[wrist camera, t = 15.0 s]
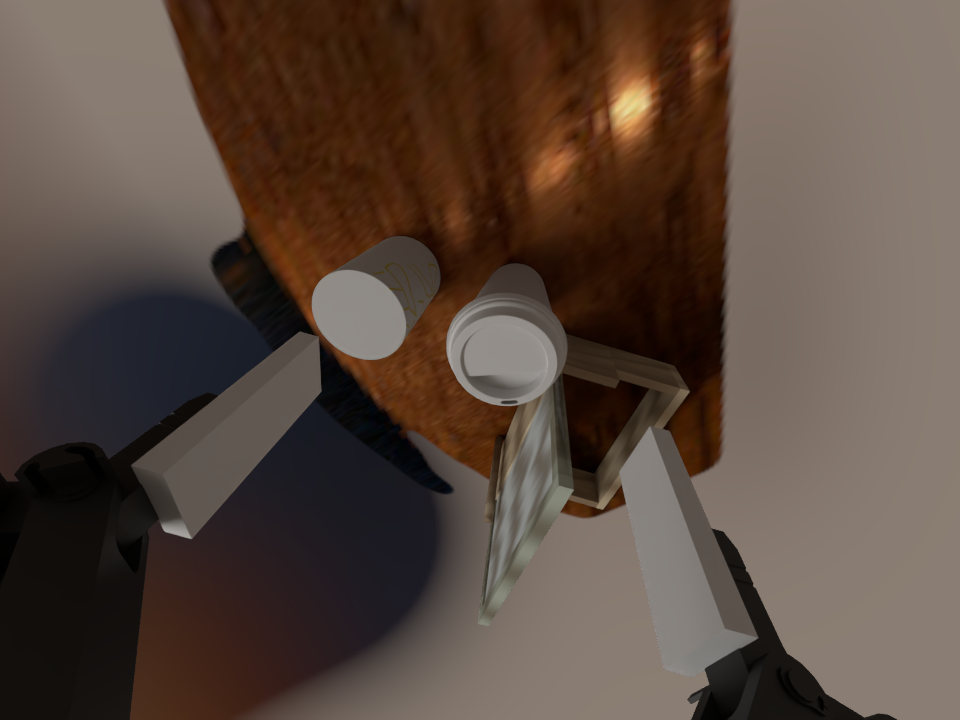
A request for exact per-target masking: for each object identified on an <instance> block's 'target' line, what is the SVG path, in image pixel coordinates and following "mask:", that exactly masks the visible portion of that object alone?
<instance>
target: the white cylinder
mask: <svg viewBox="0 0 960 720" xmlns="http://www.w3.org/2000/svg"><path fill="white" fill-rule="evenodd" d="M439 285H440V269H439V265H438V263H437V260H436V258H435V257H434V255H433V254H432V252H431V251H430V250H429V249H428V248H427V247H426V246H425V245H424V244H422V243H421V242H419V241H417V240H415V239H413V238H410V237H406V236H394V237H390V238H387V239H385V240H384V241H382V242H380V243H379V244H377V245H375V246H374V247H372V248H371V249H369V250H367V251H366V252H364V253H362V254H361V255H359V256H358V257H356V258H354V259H353V260H351V261H350V262H348V263H346V264H345V265H343V266H341V267H340V268H338V269H337V270H335V271H333V272H332V273H330V274H328V275H327V276H325V277H324V278H323V279H322V280H321V281H320V282H319V283H318V285H317V286H316V288H315V290H314V293H313V297H312V311H313V315H314V319H315V321H316V323H317V326H318V327H319V329H320V331H321V332H322V334H323V335H324V336H325V337H326V339H327V340H328V341H329V342H330V343H331V344H333V345H334V346H335V347H336V348H338V349H339V350H341V351H342V352H344V353H346V354H348V355H350V356H353V357H356V358H360V359H366V360H375V359H381V358H384V357H387V356H389V355H391V354H392V353H394V352H395V351H396V350H397V349H398V348H399V347H400V345H401V344H402V342H403V341H404V339H405V338H406V337H407V335H408V334H409V332H410V331H411V329H412V328H413V326H414V325H415V324H416V322H417V321H418V319H419V318H420V316H421V315H422V313H423V312H424V311H425V309H426V308H427V306H428V305H429V303H430V302H431V300H432V299H433V298H434V296H435V295H436V293H437V291H438V289H439Z"/></svg>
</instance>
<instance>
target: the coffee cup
mask: <svg viewBox="0 0 960 720" xmlns="http://www.w3.org/2000/svg"><path fill="white" fill-rule="evenodd" d="M567 351H568V345H567V338H566V334H565V331H564V329H563V327H562V325H561V323H560V321H559V320H558V318H557V317H556V316H555V315H554V314H553V312H552V310H551V306H550V303H549V299H548V296H547V293H546V289H545V286H544V283H543V280H542V278H541V277H540V275H539V274H538V273H537V272H536V271H535V270H534V269H532V268H531V267H529V266H527V265H524V264H518V263H513V264H507V265H504V266H502V267H500V268H499V269H497V270H496V271H495V272H494V273H493V274H492V275H491V276H490V278H489V279H488V281H487V282H486V284H485V285H484V287H483V288H482V289H481V291H480V292H479V294H478V295H477V297H476V298H475V300H474V301H472V302H470V303H469V304H467V305H466V306H465V307H463V308H462V309H461V310H460V311H459V312H458V314H457V315H456V316H455V318H454V319H453V321H452V323H451V325H450V327H449V330H448V334H447V355H448V360H449V363H450V365H451V368H452V370H453V372H454V374H455V376H456V378H457V379H458V381H459V382H460V384H461V385H462V386H463V387H464V388H465V389H466V390H467V391H468V392H469V393H470V394H472V395H473V396H475V397H476V398H478V399H480V400H482V401H484V402H487V403H490V404H495V405H501V406H513V405H520V404H524V403H527V402H530V401H532V400H534V399H536V398H537V397H539V396H540V395H542V394H543V393H544V392H545V391H546V390H547V389H548V388H549V387H550V386H551V385H552V384H553V383H554V382H555V381H556V380H557V378H558V377H559V375H560V373H561V372H562V369H563V367H564V365H565V362H566V358H567Z"/></svg>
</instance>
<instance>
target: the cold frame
mask: <svg viewBox="0 0 960 720" xmlns="http://www.w3.org/2000/svg"><path fill="white" fill-rule="evenodd" d="M566 338H567V345H568V351H567V358H566V362H565V365H564V367H563V369H562V372H561V373H560V375H559V377H558V378H557V380H556V381H555V382H554V383H553V384H552V385H551V386H550V387H549V388H548V389H547V390H546V391H545V392H544V393H543V394H542V395H540V396H539V397H537V398H536V399H534V400H532V401H530V402H527V403H524V404H520V405H519V406H518V408H517V411H516V413H515V416H514V418H513V421H512V423H511V426H510V428H509V430H508V433H507V435H506V438H505V440H504V443H503V445H502V441H503V437H502V436H497V437H496V440H495V447H494V454H493V460H492V467H491V474H490V481H489V487H488V494H487V501H486V508H485V514H484V521H485V522H487V523H491V525H490V533H489V541H488V548H487V556H486V564H485V572H484V579H483V587H482V595H481V603H480V611H479V619H478V623H479V624H482V625H485V626H489V624H490V622H491V621H492V619H493V618H494V616H495V614H496V613H497V611H498V610H499V608H500V607H501V605H502V603H503V602H504V600H505V599H506V597H507V595H508V594H509V592H510V591H511V589H512V587H513V586H514V584H515V583H516V581H517V579H518V578H519V576H520V575H521V573H522V572H523V570H524V568H525V567H526V565H527V564H528V562H529V560H530V559H531V557H532V555H533V554H534V552H535V551H536V549H537V548H538V546H539V544H540V543H541V541H542V540H543V538H544V536H545V535H546V533H547V532H548V530H549V529H550V527H551V525H552V524H553V522H554V520H555V519H556V518H557V516H558V514H559V513H560V511H561V510H562V508H563V506H564V505H565V503H566V502H567V500H571V501H575V502H578V503H582V504H585V505H589V506H592V507H596V508H599V509H602V510H603V509H604V507H605V506H606V505H607V503H608V502H609V501H610V499H611V498H612V496H613V495H614V494H615V492H616V491H617V490H618V488H619V487H620V486H621V484H622V482H621V478H620V473H619V471H620V470H621V469H622V467H623V466H624V464H625V463H626V461H627V460H628V458H629V457H630V455H631V454H632V452H633V451H634V449H635V448H636V446H637V445H638V443H639V442H640V440H641V439H642V437H643V436H644V434H645V433H646V431H647V430H648V428H649V427H650V426H653V427H656V428H660V429H663V427H664V426H665V425H666V423H667V422H668V420H669V419H670V418H671V416H672V415H673V414H674V412H675V411H676V410H677V408H678V407H679V406H680V404H681V403H682V401H683V400H684V399H685V397H686V396H687V395H688V393H689V392H690V391H689V389H688V387H687V386H686V384H685V382H684V381H683V379H682V378H681V376H680V374H679V373H678V371H677V369H676V368H675V366H674V365H670V364H667V363H663V362H660V361H657V360H653V359H650V358H646V357H643V356H640V355H636V354H633V353H629V352H626V351H623V350H619V349H616V348H612V347H609V346H606V345H602V344H599V343H595V342H592V341H589V340H585V339H582V338H578V337H575V336H572V335H568V334H566ZM562 373H564V374H568V375H571V376H574V377H578V378H581V379H585V380H588V381H592V382H595V383H598V384H602V385H605V386H609V387H612V388H616V386H617V384H618V383H619V381H620V380H623V381H626V382H630V383H633V384H636V385H640V386H643V387H647V388H650V389H649V390H648V392H647V393H646V395H645V396H644V398H643V399H642V401H641V402H640V404H639V406H638V407H637V409H636V410H635V412H634V413H633V415H632V416H631V418H630V419H629V421H628V422H627V424H626V425H625V427H624V428H623V430H622V432H621V433H620V435H619V436H618V438H617V439H616V441H615V442H614V444H613V445H612V447H611V448H610V450H609V451H608V453H607V455H606V456H605V458H604V459H603V461H602V462H601V464H600V465H599V467H598V468H597V470H596V471H595V473H594V474H593V473H590V472H586V471H583V470H580V469H576V468H573V467H572V466H571V456H570V446H569V436H568V425H567V415H566V405H565V395H564V385H563V375H562Z"/></svg>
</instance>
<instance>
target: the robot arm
mask: <svg viewBox="0 0 960 720" xmlns="http://www.w3.org/2000/svg"><path fill="white" fill-rule="evenodd" d="M320 392H321V376H320V355H319V337H317V336H313V335H310V334H306V333H302V332H299V333H297V334H296V335H295V336H294V337H292V338H291V339H290V340H289V341H287V342H286V343H285V344H284V345H282V346H281V347H280V348H278V349H277V350H276V351H275V352H273V353H272V354H271V355H270V356H268V357H267V358H266V359H265V360H263V361H262V362H261V363H260V364H258V365H257V366H256V367H255V368H253V369H252V370H251V371H250V372H248V373H247V374H246V375H244V376H243V377H242V378H241V379H239V380H238V381H237V382H236V383H234V384H233V385H232V386H231V387H229V388H228V389H227V390H225V392H223V393H222V394H221V395H219V396H218V395H214V394H211V393H206V394H204V395H201V396H199V397H197V398H194V399H192V400H189V401H188V402H186V403H185V404H183V405H182V406H181V407H179V408H178V409H177V410H175V411H174V412H172V415H171V416H170V415H169V416H167V417H166V418H164V419H163V420H162V421H160V422H159V424H158V425H155V426H153V427H152V428H151V429H149V430H148V431H147V432H145V433H144V434H143V435H141V436H140V437H139V438H137V439H136V440H135V441H133V442H132V443H130V444H129V445H128V446H127V447H125V448H124V449H123V450H121V451H120V452H118V453H117V454H116V455H114V456H113V457H112V458H110V459H109V460H108V458H107V457H106V455H105V453H104V451H103V450H102V448H100V447H99V446H97V445H96V444H93V443H87V442H77V443H67V444H64V445H60V446H56V447H53V448H50V449H48V450H46V451H44V452H41V453H39V454H37V455H35V456H33V457H32V458H31V459H29V460H28V461H27V462H25V463H24V464H22V465H21V467H20V468H19V469H18V470H17V472H16V473H15V476H16V477H17V479H18V480H19V481H18V482H16V481H15V482H7V480H6V479H5V478H4V477H3V476H2V475H1V473H0V720H129V719H130V711H131V702H132V701H131V700H132V692H133V683H134V674H135V664H136V655H137V646H138V637H139V627H140V619H141V609H142V600H143V590H144V581H145V572H146V563H147V554H148V545H149V534H148V529H149V528H150V527H151V526H152V525H153V524H154V523H155V522H156V521H157V520H159V522H160V524H161V525H162V527H163V529H164V531H165V532H168V533H172V534H176V535H179V536H183V537H186V538H190V539H192V538H193V537H194V536H195V535H196V533H197V532H198V531H199V530H200V529H201V528H202V527H203V525H204V524H205V523H206V522H207V521H208V520H209V519H210V517H211V516H212V515H213V514H214V513H215V512H216V511H217V510H218V508H219V507H220V506H221V505H222V504H223V503H224V501H225V500H226V499H227V498H228V497H229V496H230V495H231V494H232V492H233V491H234V490H235V489H236V488H237V487H238V486H239V485H240V483H241V482H242V481H243V480H244V479H245V477H246V476H247V475H248V474H249V473H250V472H251V471H252V470H253V468H254V467H255V466H256V465H257V464H258V463H259V462H260V461H261V459H262V458H263V457H264V456H265V455H266V454H267V453H268V451H269V450H270V449H271V448H272V447H273V446H274V445H275V443H276V442H277V441H278V440H279V439H280V438H281V437H282V436H283V434H284V433H285V432H286V431H287V430H288V429H289V428H290V426H291V425H292V424H293V423H294V422H295V421H296V419H297V418H298V417H299V416H300V415H301V414H302V413H303V412H304V410H305V409H306V408H307V407H308V406H309V405H310V404H311V403H312V401H313V400H314V399H315V398H316V397H317V396H318V395H319V393H320ZM619 473H620V478H621V482H622V487H623V491H624V496H625V500H626V504H627V508H628V513H629V517H630V522H631V527H632V531H633V535H634V540H635V544H636V549H637V553H638V557H639V562H640V566H641V571H642V575H643V580H644V584H645V588H646V593H647V597H648V602H649V606H650V611H651V615H652V619H653V624H654V628H655V633H656V637H657V642H658V646H659V650H660V655H661V659H662V664H663V668H664V670H667V671H671V672H674V673H678V674H682V675H685V676H689V677H693V676H695V675H697V674H698V673H700V672H702V671H704V670H705V671H706V674H707V678H708V681H709V684H710V685H708V686H706V687H704V688H702V689H701V690H699V691H697V692H695V693H693V694H692V695H691V696H690V697H689V698H688V701H689V702H690V703H691V704H692V703H694V702H696V701H698V700H699V702H698V705H697V707H696V709H695V712H694V714H693V717H692V719H691V720H897V719H895V718H893V717H891V716H889V715H886V714H875V715H872V716H869V717H865V718H864V717H862V716H861V715H859V714H858V713H856V712H854V711H853V710H851V709H849V708H848V707H846V706H845V705H843V704H841V703H839V702H838V701H836V700H835V699H833V698H832V697H830V696H828V695H826V694H825V692H824V691H823V689H822V688H821V686H820V685H819V683H818V682H817V680H816V679H815V677H814V676H813V675H812V674H811V673H810V672H809V671H808V670H807V669H806V668H805V667H804V666H803V665H802V664H801V663H800V662H798V661H797V660H796V659H794V658H793V657H792V656H790V655H788V654H787V653H786V651H785V649H784V647H783V646H782V643H781V641H780V639H779V637H778V635H777V633H776V631H775V628H774V626H773V624H772V622H771V620H770V618H769V616H768V614H767V611H766V609H765V607H764V605H763V603H762V601H761V599H760V597H759V594H758V592H757V590H756V589H755V588H754V587H753V582H752V580H751V577H750V575H749V574H748V572H746V567H745V565H744V563H743V561H742V558H741V556H740V554H739V552H738V550H737V548H736V547H735V546H734V545H733V544H732V542H731V541H730V540H729V538H728V537H727V536H726V535H725V533H724V532H723V531H719V530H715V529H712V528H711V526H710V524H709V522H708V519H707V517H706V515H705V512H704V510H703V508H702V506H701V503H700V501H699V499H698V496H697V494H696V491H695V489H694V487H693V485H692V482H691V480H690V477H689V475H688V473H687V470H686V468H685V466H684V463H683V461H682V459H681V456H680V454H679V452H678V449H677V447H676V445H675V442H674V440H673V438H672V436H671V433H670V431H667V430H664V429H660V428H656V427H653V426H650V427H649V428H648V430H647V431H646V433H645V434H644V436H643V437H642V439H641V440H640V442H639V443H638V445H637V446H636V448H635V449H634V451H633V452H632V454H631V455H630V457H629V458H628V460H627V461H626V463H625V464H624V466H623V467H622V469H621V470H620V471H619Z"/></svg>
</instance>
